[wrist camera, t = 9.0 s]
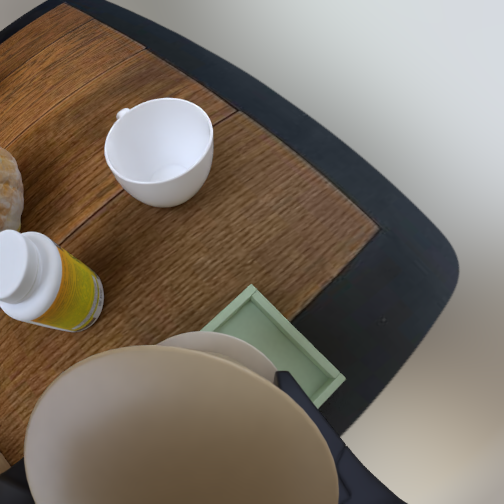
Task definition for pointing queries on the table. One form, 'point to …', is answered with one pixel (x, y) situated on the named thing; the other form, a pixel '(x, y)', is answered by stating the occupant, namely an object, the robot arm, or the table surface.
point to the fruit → (10, 193)
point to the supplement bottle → (46, 283)
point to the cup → (161, 151)
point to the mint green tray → (278, 343)
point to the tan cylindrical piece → (175, 430)
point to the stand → (3, 464)
